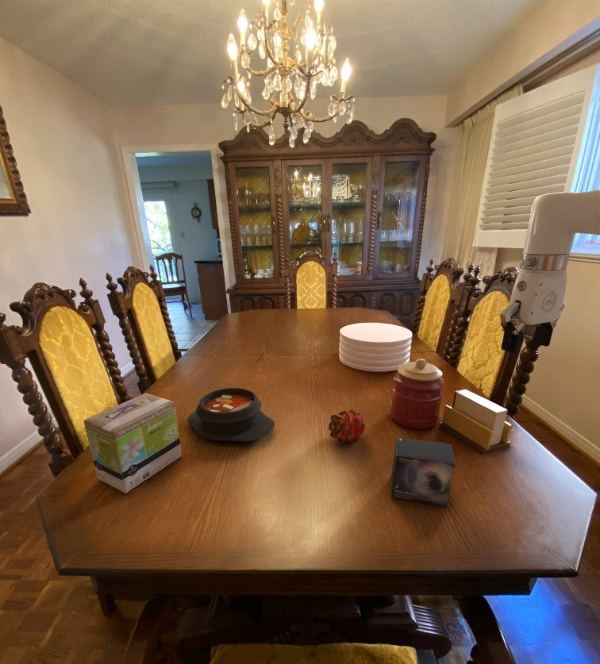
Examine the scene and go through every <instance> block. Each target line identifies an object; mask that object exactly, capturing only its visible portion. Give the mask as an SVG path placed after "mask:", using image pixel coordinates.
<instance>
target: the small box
mask: <svg viewBox="0 0 600 664" xmlns="http://www.w3.org/2000/svg"><path fill="white" fill-rule="evenodd" d="M394 443H395V444H394V451H393V459H392V467H391V474H390V497H391V499H397V500H403V501H408V502H414V503H421V504H426V505H432V506H438V507H443V508H447V507H448V503H449V497H450V492H451V487H452V482H453V478H454V473H455V469H456V464H457V463H456V458H455V455H454V451H453V448H452V444H451V443H446V442H445V443H444V442H436V441H429V440H420V439H413V438H405V437H395V442H394Z"/></svg>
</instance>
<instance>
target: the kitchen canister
mask: <svg viewBox="0 0 600 664" xmlns="http://www.w3.org/2000/svg"><path fill="white" fill-rule="evenodd" d="M442 377H443V371H442V370H440V369H439V368H437V366H435V365H434V364H432V363H428V362H427V361H426V360H425V359H424V358H417V359H416V360H415V361H409V362H408V363H405V364H404V365H401V366H400V367H398V370H397V372H396V373H395V374H394V375H393V381H394V385H393V386H392V398H391V405H390V417H391V419H392V420H393V422H395V423H396V424H398V425H400V426H402V427H405V428H407V429H413V430H427V429H432V428H433V427H435V426H436V425H437V424H438V421H439V420H440V415H441V414H440V413H441V412H440V410H441V404H442V398H443V395H444V393H443V390H442V388H444V386H445V384H446V382H445V380H444V379H443V378H442Z"/></svg>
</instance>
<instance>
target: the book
mask: <svg viewBox="0 0 600 664" xmlns="http://www.w3.org/2000/svg"><path fill="white" fill-rule="evenodd" d="M451 407H452V408H454V409H456V410H457V411H459V412H461V413H463V414H464V415H466V416H468V417H470V418H471V419H473V420H475V421H477V422H478V423H480V424H482V425H484V426H485V427H487V428H489V429H491V430H492V431H493V434H492V438H491V443H490V446H491V445H494V444H497V443H500V440H501V436H502V431H503V427H504V423H505V421H506V419H507V414H508V409H507V408H505V407H503V406H500V405H499V404H497V403H495V402H493V401H490V400H489V399H486V398H485V397H482V396H480V395H478V394H476V393H474V392H472V391H470V390H469V389H466V388H464V389H463V388H462V389H460V390H456V391H454V395H453V401H452V406H451Z"/></svg>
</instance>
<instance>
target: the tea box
mask: <svg viewBox="0 0 600 664" xmlns="http://www.w3.org/2000/svg"><path fill="white" fill-rule="evenodd" d="M83 423H84V429H85V433H86V437H87V442H88V445H89V450H90V454H91V458H92V462H93V465H94V470H95V474H96V477H97V479H98V480H100V481H101V482H103V483H105V484H107V485H109V486H110V487H113V488H115V489H116V490H119V491H120V492H122V493H125V494H128V493H129V492H130V491H132V490H133V489H134V488H136V487H138V486H139V485H140V484H142V483H143V482H145V481H146V480H148V479H150V478H151V477H152V476H154V475H156V474H157V473H159V472H161V470H163V469H165V468H166V467H167V466H169V465H170V464H172V463H174V462H176V461H177V460H178V459H180V458H181V457H182V456H183V454H182V453H183V452H182V445H181V438H180V431H179V425H178V417H177V410H176V404H175V401H174V400H173V401H172V400H170V399H167V398H163V397H160V396H157V395H154V394H150V393H148V392H144V393H142V394H140V395H138V396H136V397H133V398H130V399H129V400H126V401H125V402H122V403H120V404H118V405H115V406H113V407H111V408H108V409H105V410H103V411H101V412H99V413H97V414H94V415H92V416H90V417H88V418H85V419H83Z"/></svg>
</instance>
